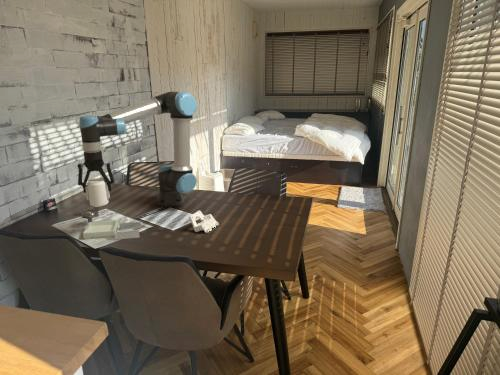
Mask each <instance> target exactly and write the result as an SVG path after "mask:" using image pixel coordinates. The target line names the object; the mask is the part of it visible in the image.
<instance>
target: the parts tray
mask: <svg viewBox="0 0 500 375" xmlns="http://www.w3.org/2000/svg"><path fill="white" fill-rule="evenodd" d="M118 228H119V220H118V219H113V220H111V219H110V220H98V221H92V222H89V223H88V222H87V226H86V227H85V229H84V231H83V233H82V237H83V240H93V239H94V240H95V239H104V238H105V239H107V238H115V237H116V233H118Z"/></svg>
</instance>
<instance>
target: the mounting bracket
mask: <svg viewBox="0 0 500 375" xmlns="http://www.w3.org/2000/svg"><path fill="white" fill-rule="evenodd" d="M197 218H198V219H199V220H200V221H201V222H198V223H197V222H196V220H197ZM189 220H190V222H191V225H192V227H193V230H194V232H196V233H198V232H200V231H204V233H206V234H208V233H210V232H212V228H214V227H215V228H217V227H218V226H219V225H220V224H219V222H218V221H217V220H216V218H214V216H213V215H212V214H211V213H209V214H205V215H204V214H203V212H202V211H201V210H197V211H196V212H194V213H192V214H190V215H189ZM216 226H217V227H216ZM215 228H214V229H215ZM209 231H210V232H209Z"/></svg>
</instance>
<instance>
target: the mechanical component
mask: <svg viewBox="0 0 500 375" xmlns="http://www.w3.org/2000/svg"><path fill="white" fill-rule="evenodd" d="M85 202H86V205H87V206H88V207H89V206H90V207H93V209H92V210H96V211H97V216H96V218H97V217H99V216H100V215H99V208H100V207H94V206H91V205H90V201H89V200H87V197H86V198H85Z"/></svg>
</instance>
